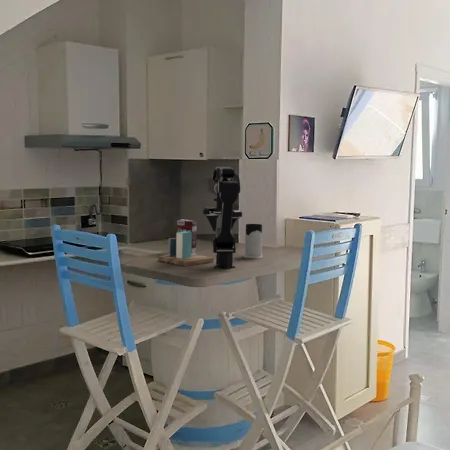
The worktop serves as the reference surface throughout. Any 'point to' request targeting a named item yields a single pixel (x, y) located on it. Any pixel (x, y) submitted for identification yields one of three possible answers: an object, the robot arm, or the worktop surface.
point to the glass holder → (253, 241)
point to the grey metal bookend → (171, 247)
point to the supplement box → (189, 227)
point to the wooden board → (187, 260)
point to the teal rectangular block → (183, 244)
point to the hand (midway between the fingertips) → (222, 232)
